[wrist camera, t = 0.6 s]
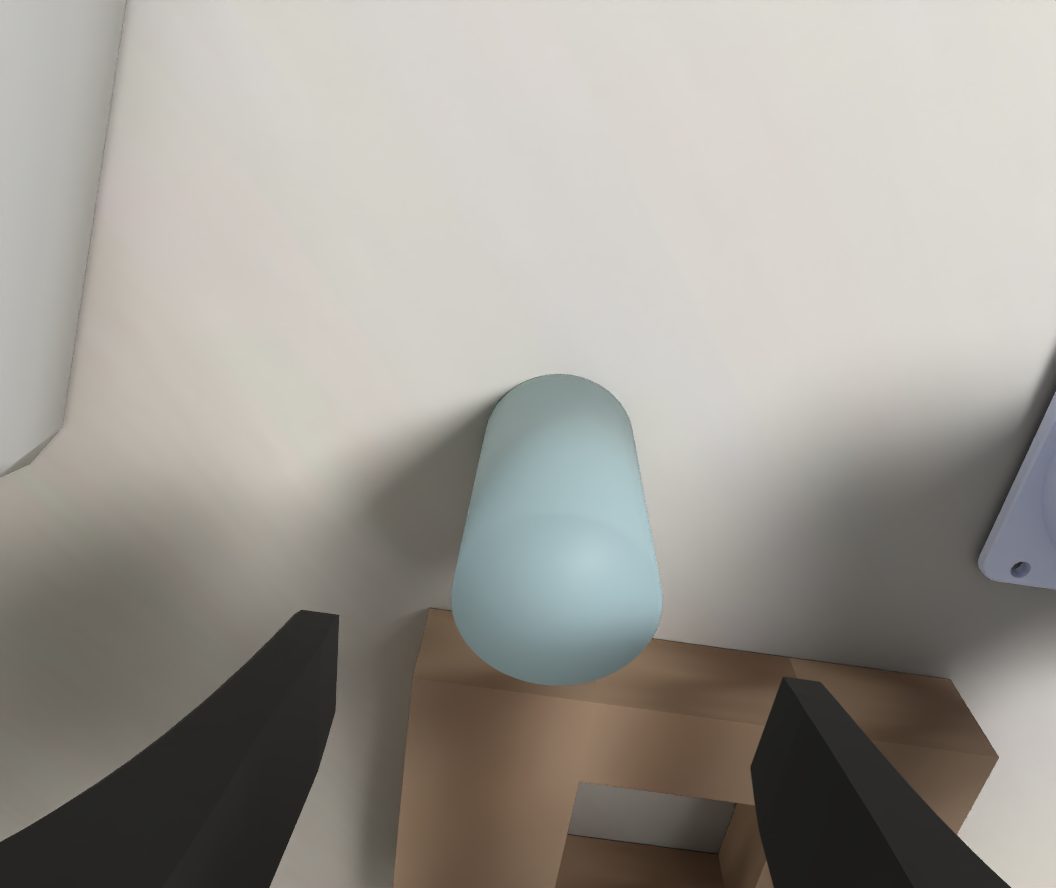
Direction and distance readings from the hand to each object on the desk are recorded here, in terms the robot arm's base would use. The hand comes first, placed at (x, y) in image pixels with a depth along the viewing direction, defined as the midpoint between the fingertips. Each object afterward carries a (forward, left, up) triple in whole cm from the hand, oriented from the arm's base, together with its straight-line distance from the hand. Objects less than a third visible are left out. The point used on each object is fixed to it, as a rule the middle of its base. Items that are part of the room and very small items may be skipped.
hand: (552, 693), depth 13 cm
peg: (0, 0, -9) cm, 9 cm away
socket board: (-5, +12, -9) cm, 16 cm away
